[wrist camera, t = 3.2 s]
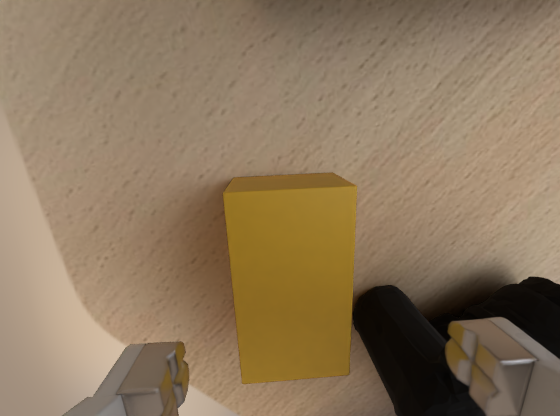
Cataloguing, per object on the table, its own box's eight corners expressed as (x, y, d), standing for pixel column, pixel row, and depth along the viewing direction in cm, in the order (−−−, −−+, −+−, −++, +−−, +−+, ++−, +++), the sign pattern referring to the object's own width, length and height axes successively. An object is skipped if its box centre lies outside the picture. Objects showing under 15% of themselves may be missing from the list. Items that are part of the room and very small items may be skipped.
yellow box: (246, 329, 15) (242, 384, 12) (233, 177, 13) (222, 192, 9) (331, 323, 16) (350, 375, 12) (333, 172, 13) (357, 185, 10)
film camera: (571, 367, 18) (867, 590, 9) (449, 440, 19) (606, 698, 10) (472, 200, 14) (813, 308, 5) (327, 304, 15) (412, 530, 6)
